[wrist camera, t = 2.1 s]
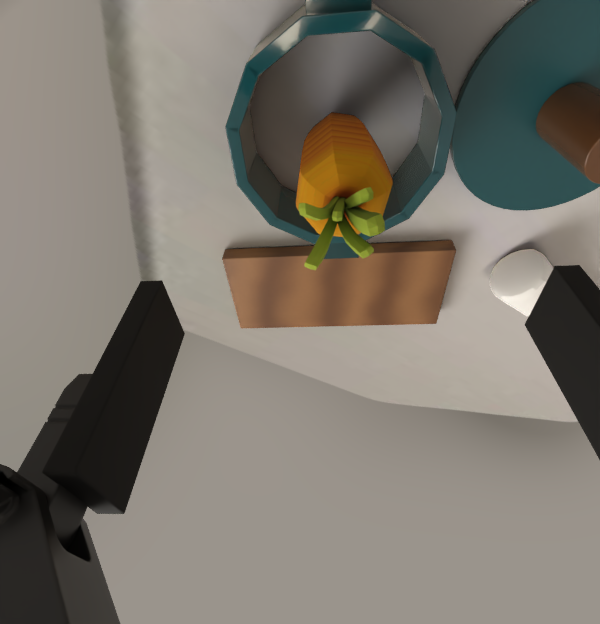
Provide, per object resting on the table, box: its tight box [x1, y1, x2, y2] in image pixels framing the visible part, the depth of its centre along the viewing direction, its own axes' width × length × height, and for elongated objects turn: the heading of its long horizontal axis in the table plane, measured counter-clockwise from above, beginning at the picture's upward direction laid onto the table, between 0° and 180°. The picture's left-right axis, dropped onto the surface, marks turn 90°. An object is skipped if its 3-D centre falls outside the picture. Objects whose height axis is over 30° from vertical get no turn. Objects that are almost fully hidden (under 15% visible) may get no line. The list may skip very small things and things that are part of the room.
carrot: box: [296, 112, 393, 270], centre depth 21 cm, size 5×5×15 cm
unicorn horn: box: [490, 249, 553, 317], centre depth 37 cm, size 5×24×5 cm, turn 47°
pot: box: [226, 0, 457, 259], centre depth 24 cm, size 13×17×5 cm
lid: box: [450, 0, 600, 210], centre depth 22 cm, size 14×14×7 cm
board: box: [222, 240, 456, 328], centre depth 36 cm, size 20×9×2 cm, turn 94°
